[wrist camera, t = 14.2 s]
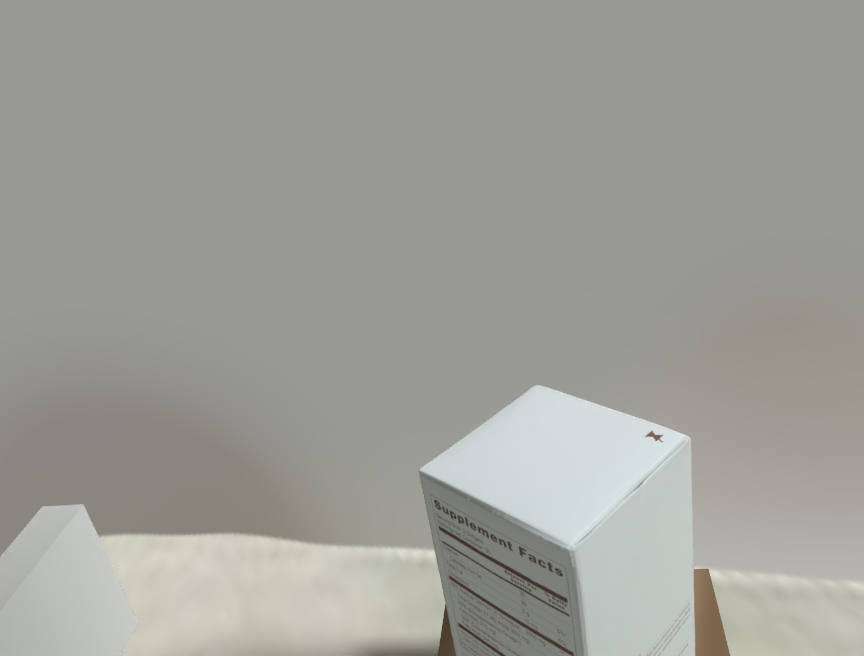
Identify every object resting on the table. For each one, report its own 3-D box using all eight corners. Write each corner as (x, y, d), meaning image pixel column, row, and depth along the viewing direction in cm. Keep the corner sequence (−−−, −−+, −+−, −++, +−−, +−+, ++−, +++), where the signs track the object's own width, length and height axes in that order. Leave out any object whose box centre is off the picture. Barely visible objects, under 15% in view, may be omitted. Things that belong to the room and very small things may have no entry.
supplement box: (562, 599, 40) (538, 377, 34) (701, 678, 34) (699, 432, 29) (458, 700, 35) (411, 465, 30) (599, 807, 30) (573, 548, 25)
